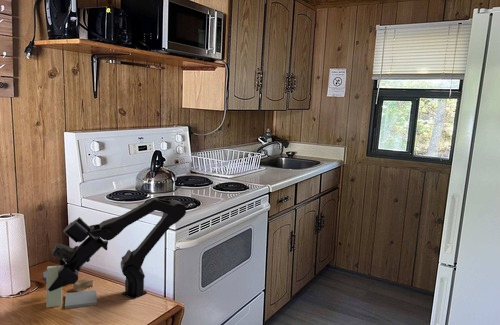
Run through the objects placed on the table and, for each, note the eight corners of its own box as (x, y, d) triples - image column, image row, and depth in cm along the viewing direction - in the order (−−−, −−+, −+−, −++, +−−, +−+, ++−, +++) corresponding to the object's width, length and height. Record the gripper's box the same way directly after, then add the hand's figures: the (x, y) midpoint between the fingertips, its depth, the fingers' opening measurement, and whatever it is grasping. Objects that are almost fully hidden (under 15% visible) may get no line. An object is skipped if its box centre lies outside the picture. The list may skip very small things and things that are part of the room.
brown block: (88, 285, 150) (88, 277, 150) (92, 287, 148) (92, 279, 148) (73, 290, 145) (73, 282, 145) (77, 292, 143) (77, 284, 143)
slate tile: (96, 292, 144) (96, 289, 144) (97, 304, 135) (97, 301, 134) (65, 296, 140) (65, 293, 140) (65, 308, 131) (65, 306, 130)
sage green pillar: (61, 300, 137) (61, 265, 135) (61, 305, 133) (61, 270, 131) (47, 301, 135) (47, 266, 134) (46, 307, 131) (46, 271, 129)
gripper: (68, 228, 141) (33, 260, 138) (67, 244, 124) (27, 281, 121) (91, 247, 145) (58, 279, 142) (93, 265, 128) (55, 302, 125)
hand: (50, 284), depth 132 cm, fingers open, 9 cm apart
